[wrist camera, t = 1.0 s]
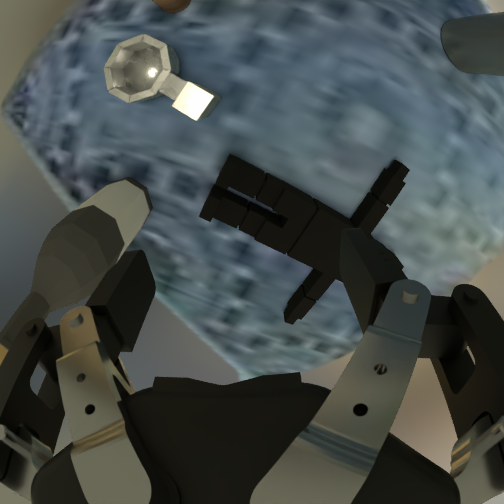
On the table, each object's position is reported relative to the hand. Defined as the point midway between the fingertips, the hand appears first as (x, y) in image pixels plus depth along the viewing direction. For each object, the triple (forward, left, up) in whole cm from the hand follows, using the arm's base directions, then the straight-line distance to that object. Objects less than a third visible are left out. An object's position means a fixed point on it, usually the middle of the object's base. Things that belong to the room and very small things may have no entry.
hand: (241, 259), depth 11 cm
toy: (+4, +14, -27) cm, 31 cm away
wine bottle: (+16, -10, -27) cm, 33 cm away
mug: (-2, -13, -27) cm, 30 cm away
